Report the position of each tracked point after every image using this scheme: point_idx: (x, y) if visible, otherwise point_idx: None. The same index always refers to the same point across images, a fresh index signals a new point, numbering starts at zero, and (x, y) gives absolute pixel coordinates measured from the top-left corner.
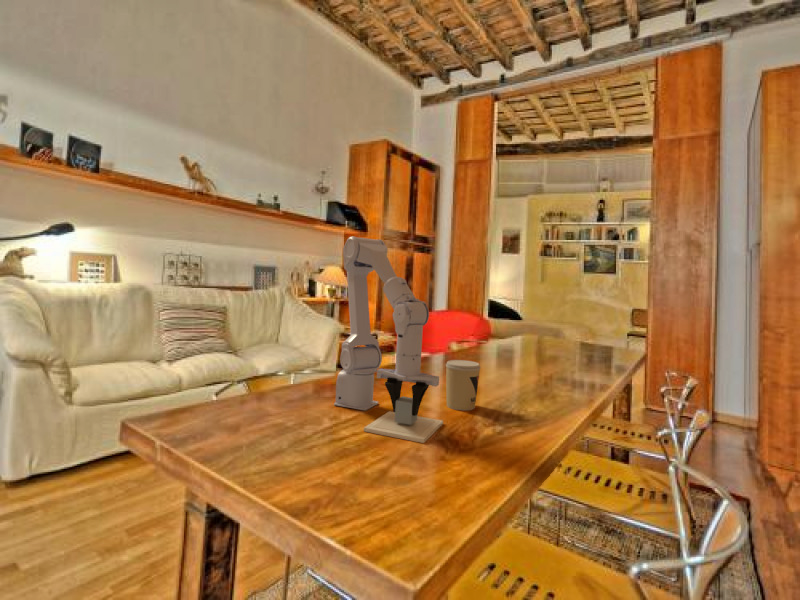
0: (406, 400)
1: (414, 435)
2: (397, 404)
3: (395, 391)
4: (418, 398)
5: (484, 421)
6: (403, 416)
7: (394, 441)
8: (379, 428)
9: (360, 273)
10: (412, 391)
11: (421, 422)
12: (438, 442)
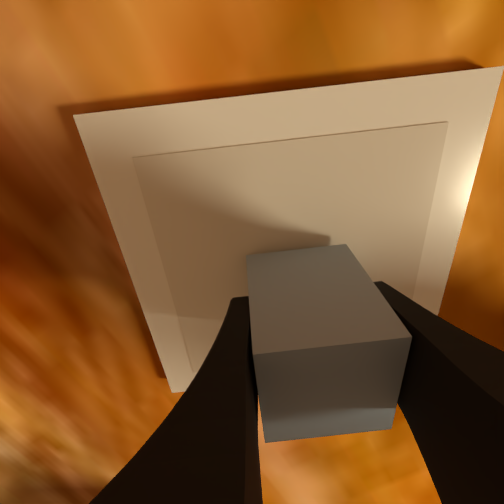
0: (326, 378)
1: (158, 143)
2: (378, 313)
3: (478, 411)
4: (179, 401)
5: (78, 463)
6: (301, 271)
7: (241, 19)
8: (399, 119)
9: None
10: (242, 461)
11: None
12: (37, 180)
